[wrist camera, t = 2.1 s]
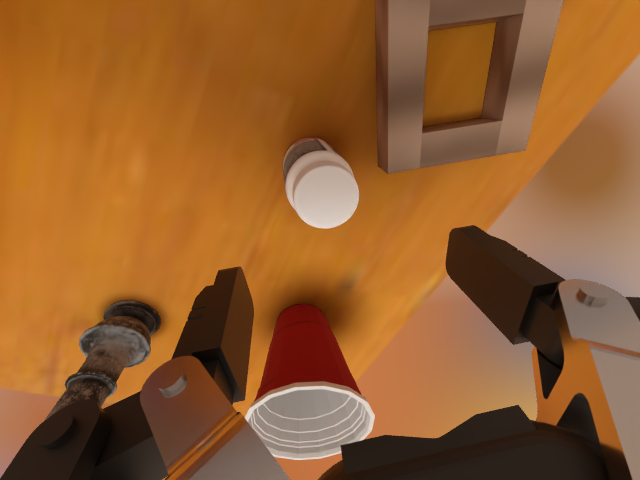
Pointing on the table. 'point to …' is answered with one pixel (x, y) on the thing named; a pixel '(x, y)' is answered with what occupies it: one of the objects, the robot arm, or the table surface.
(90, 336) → the rusty flanged peg
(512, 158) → the table surface
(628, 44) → the table surface
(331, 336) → the plastic cup
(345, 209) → the pill bottle
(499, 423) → the robot arm
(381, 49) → the gray square frame
